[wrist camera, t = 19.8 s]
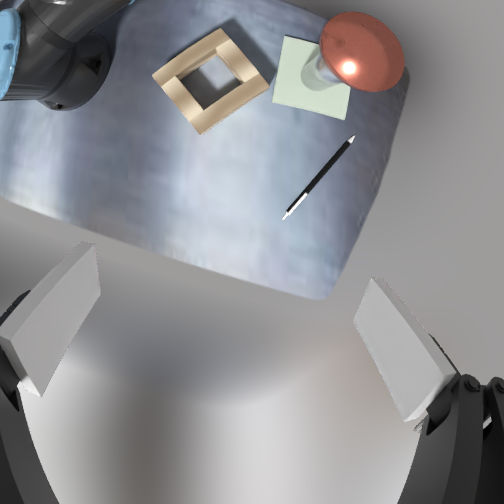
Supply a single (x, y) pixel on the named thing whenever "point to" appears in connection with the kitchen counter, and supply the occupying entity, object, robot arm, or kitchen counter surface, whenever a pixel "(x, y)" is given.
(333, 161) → the pen
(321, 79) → the steel peg
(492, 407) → the robot arm
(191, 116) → the block
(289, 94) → the sage pad
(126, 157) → the kitchen counter surface
